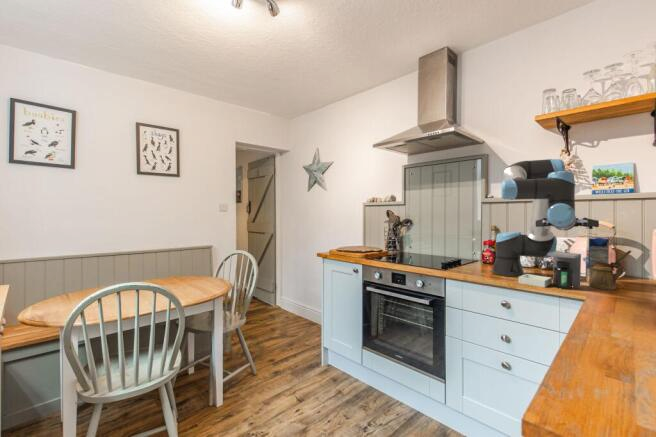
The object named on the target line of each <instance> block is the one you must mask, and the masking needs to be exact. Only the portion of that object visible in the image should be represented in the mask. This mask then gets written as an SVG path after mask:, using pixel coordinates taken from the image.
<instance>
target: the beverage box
mask: <svg viewBox="0 0 656 437" xmlns="http://www.w3.org/2000/svg"><path fill="white" fill-rule="evenodd" d="M585 244H586V247H585V248H586V249H585V250H586V251H585V256H586V257H585V281H586V282H587V284H588V285H589V284H590V282H591V278H592V273H593V266H594V263H595V262H601V263H609V262H610V261H609V259H610V258H609V257H610V256H609V254H610V252H609V251H610V239H609V238H607V237H600V236H599V237H598V236H597V237H596V236H586V243H585Z"/></svg>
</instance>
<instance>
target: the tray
mask: <svg viewBox="0 0 656 437" xmlns="http://www.w3.org/2000/svg"><path fill="white" fill-rule="evenodd" d="M518 284H521V285H522V284H523V285H525V286H526V285H527V286H533V287H540V288H547V287H548V285H549V286H551V285H553V277H549V276H542V275H538V274H537V275H536V274H529V273H526V274H525V273H524V275H522V276H519V277H518ZM550 284H551V285H550Z"/></svg>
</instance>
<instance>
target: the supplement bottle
mask: <svg viewBox="0 0 656 437" xmlns="http://www.w3.org/2000/svg"><path fill="white" fill-rule="evenodd" d="M556 265H557V266H556V267H555V268H554V275H553V274H552V285H553V287H554V288H555V287H556V289H559V288H561V289H560V290H567V289H569V290H572V289H573V287H572V278H573V270H572V269H571V268H569V266H570V262H567V261H557V264H556Z"/></svg>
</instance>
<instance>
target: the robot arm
mask: <svg viewBox="0 0 656 437" xmlns="http://www.w3.org/2000/svg"><path fill="white" fill-rule="evenodd" d="M501 179H502V182H501V194H500V195H501V198H502V200H508V201H509V200H510V201H514V200H532V205H531V206H532V207H531V218H530V229H528V230H527V231H526V234H522V233H521V231H509V232H507V231H506V232H500V233H497V235H496V239H495V243H496V244H495V245H496V246H495V260H494V263H493V265H492V268H491V273H492V274H494V275H498V276H503V277H512V278H513V277H514V278H516V277H517V278H519V276H522V275H525V271H524V267H523V266H522V263H521V257H531V258H533V257H534V258H542V259H543V258H552V257H553V256H547V253H551V252H557V251H556V250H557V244H558V239H557V237H556V235H554V233H553V232H552V231H551V229H552V227H554V228H556V229H557V230H559V231H569V230H571V229H573V228H578V227H584V228H585V229H586V230H593V229H594V228H599V226H600V223H599V222H600V220H599V219H591V218H588V217H583V218H580V219H579V218H578V217H576V202H575V201H576V200H575V199H576V198H575V194H576V193H575V192H576V190H575V189H576V188H575V186H576V183H575V174H574V173H573V172H571V171H570V170H569V171H568V170H566V165H565V162H564V160H562V159H561V158H549V159H536V160H534V159H533V160H522V161H521V160H520V161H518V162H515V163H512V164H510V165H509V166H507V167H506V168H505V169H504V170H503V172H502V178H501Z"/></svg>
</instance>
